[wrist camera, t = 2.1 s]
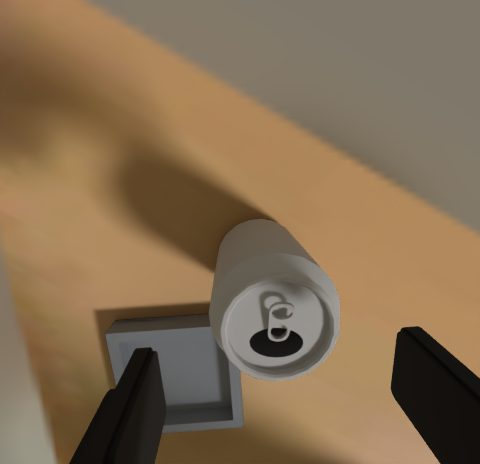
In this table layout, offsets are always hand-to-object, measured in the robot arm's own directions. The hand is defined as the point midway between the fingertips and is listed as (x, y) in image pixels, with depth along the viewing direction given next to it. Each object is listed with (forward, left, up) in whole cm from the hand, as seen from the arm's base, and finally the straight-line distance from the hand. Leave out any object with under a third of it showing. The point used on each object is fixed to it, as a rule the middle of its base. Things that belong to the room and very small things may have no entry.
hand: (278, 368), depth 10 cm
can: (-1, +1, -15) cm, 15 cm away
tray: (+8, +12, -15) cm, 21 cm away
